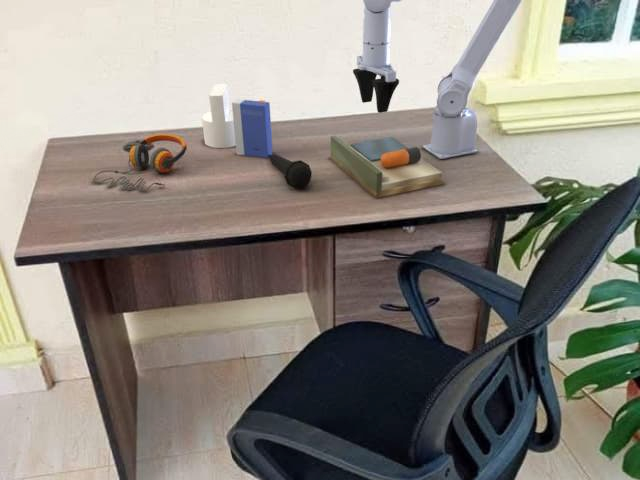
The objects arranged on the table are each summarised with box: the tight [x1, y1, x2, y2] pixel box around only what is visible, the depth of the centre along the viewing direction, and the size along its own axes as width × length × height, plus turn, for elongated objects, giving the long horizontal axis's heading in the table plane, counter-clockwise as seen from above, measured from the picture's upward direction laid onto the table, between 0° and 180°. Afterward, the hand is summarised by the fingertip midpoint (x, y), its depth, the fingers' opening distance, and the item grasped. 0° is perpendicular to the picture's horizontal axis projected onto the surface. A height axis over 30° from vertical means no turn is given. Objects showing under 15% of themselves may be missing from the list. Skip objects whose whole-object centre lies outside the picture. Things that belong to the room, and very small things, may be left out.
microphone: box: [268, 153, 313, 190], centre depth 139 cm, size 6×6×20 cm
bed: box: [330, 135, 444, 199], centre depth 139 cm, size 15×22×5 cm
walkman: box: [231, 98, 274, 159], centre depth 146 cm, size 8×3×12 cm, turn 71°
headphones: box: [93, 133, 188, 192], centre depth 140 cm, size 17×5×20 cm
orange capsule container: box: [380, 146, 422, 168], centre depth 136 cm, size 9×3×3 cm
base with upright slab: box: [201, 83, 236, 149], centre depth 153 cm, size 9×9×12 cm
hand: (374, 106), depth 146 cm, fingers open, 7 cm apart
